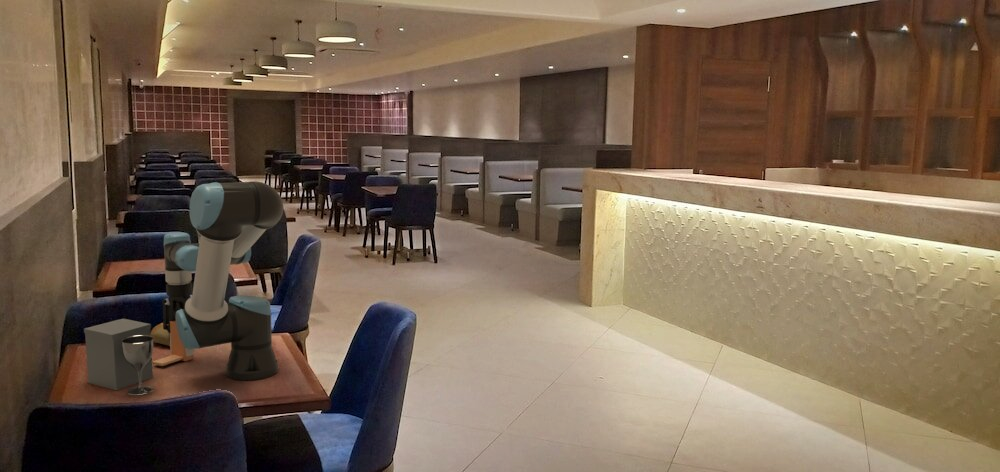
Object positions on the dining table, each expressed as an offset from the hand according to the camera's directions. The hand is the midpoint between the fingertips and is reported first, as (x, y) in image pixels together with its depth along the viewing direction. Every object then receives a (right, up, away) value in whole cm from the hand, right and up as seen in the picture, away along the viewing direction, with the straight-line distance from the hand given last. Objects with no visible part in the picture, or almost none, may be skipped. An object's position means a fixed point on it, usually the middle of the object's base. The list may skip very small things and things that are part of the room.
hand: (182, 353), depth 241 cm
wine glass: (-1, -6, -27) cm, 28 cm away
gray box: (-10, -5, -19) cm, 22 cm away
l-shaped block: (-2, -2, -3) cm, 4 cm away
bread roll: (-10, 0, +15) cm, 18 cm away
